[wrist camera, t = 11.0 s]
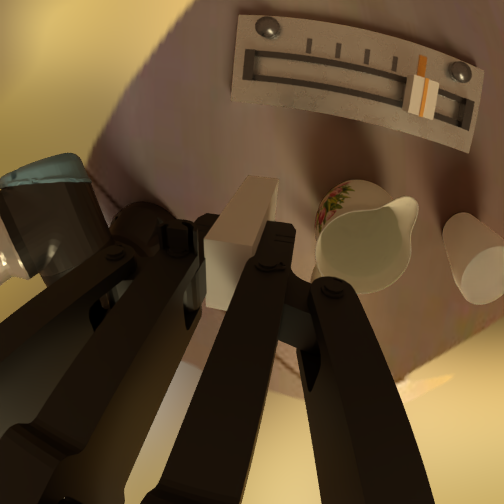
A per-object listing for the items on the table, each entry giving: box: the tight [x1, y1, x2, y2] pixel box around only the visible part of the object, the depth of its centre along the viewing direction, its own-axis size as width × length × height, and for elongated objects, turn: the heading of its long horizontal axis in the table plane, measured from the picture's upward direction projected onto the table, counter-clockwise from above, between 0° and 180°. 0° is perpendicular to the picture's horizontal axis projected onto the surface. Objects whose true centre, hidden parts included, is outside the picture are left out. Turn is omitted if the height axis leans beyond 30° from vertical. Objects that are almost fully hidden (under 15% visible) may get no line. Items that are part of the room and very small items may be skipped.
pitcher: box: [311, 180, 419, 294], centre depth 36 cm, size 11×18×14 cm, turn 151°
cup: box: [442, 212, 504, 305], centre depth 34 cm, size 9×9×12 cm
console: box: [231, 15, 484, 154], centre depth 30 cm, size 32×12×4 cm, turn 85°
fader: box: [402, 75, 439, 120], centre depth 28 cm, size 3×4×5 cm, turn 175°
